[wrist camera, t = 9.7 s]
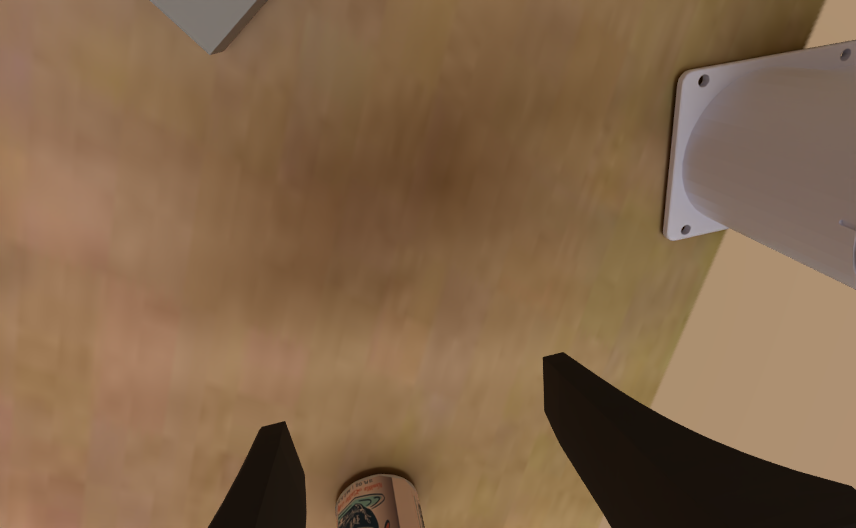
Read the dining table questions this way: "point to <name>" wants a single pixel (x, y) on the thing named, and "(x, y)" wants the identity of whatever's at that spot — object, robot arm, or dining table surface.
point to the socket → (210, 19)
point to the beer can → (379, 504)
